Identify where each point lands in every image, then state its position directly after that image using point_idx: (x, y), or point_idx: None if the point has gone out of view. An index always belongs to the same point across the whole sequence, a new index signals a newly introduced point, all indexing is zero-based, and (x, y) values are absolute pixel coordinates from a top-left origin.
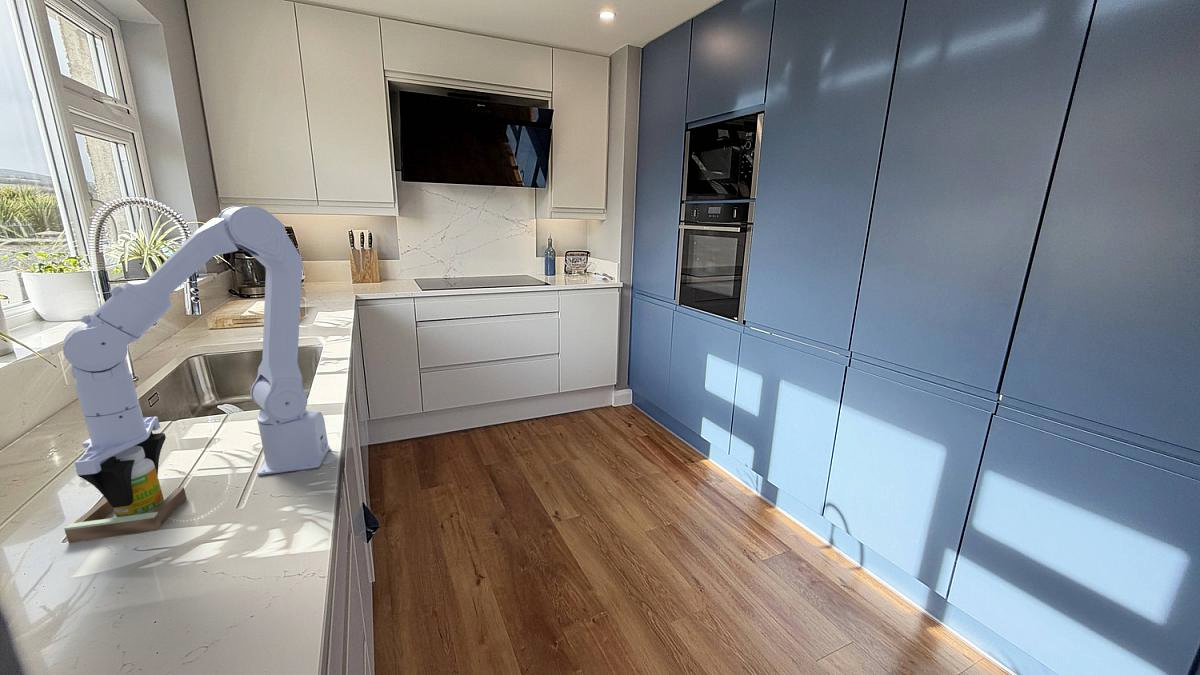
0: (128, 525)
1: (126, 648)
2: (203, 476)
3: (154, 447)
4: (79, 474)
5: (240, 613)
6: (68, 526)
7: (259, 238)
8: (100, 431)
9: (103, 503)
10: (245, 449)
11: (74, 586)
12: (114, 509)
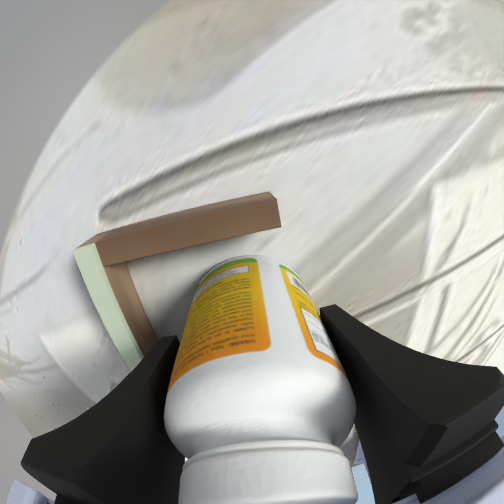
0: None
1: (33, 428)
2: (408, 326)
3: (372, 479)
4: (17, 483)
5: None
6: (80, 256)
7: None
8: None
9: (228, 232)
10: (487, 318)
11: (33, 353)
12: (195, 297)
